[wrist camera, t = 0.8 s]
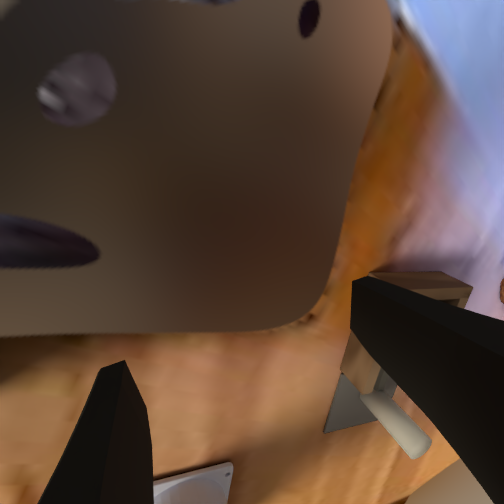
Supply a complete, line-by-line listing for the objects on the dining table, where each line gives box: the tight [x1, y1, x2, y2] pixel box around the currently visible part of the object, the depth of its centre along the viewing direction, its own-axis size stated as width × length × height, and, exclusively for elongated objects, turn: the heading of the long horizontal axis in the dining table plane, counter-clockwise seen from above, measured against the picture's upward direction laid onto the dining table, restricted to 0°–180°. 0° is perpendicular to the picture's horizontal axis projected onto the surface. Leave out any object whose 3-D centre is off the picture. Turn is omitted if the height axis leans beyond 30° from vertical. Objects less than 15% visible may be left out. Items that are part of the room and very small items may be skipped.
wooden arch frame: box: [340, 272, 473, 395], centre depth 27 cm, size 9×8×3 cm
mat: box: [323, 373, 397, 434], centre depth 31 cm, size 7×8×1 cm
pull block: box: [360, 368, 432, 459], centre depth 26 cm, size 12×5×6 cm, turn 171°
